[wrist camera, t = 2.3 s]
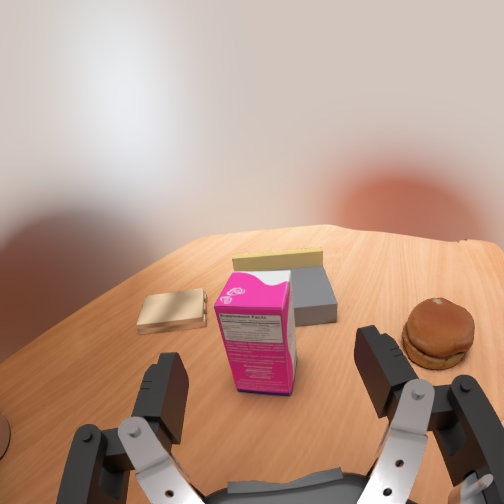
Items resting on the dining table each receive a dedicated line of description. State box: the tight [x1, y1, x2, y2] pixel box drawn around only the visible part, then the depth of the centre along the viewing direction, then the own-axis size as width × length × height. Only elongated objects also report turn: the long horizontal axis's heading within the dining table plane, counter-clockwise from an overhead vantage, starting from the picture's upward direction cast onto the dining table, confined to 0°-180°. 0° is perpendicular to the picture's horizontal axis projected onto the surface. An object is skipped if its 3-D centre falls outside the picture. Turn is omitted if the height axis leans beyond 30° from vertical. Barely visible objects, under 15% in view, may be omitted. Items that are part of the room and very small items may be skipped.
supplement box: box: [214, 270, 297, 396], centre depth 25 cm, size 6×6×12 cm
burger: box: [402, 298, 475, 369], centre depth 26 cm, size 10×9×5 cm
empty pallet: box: [137, 288, 207, 334], centre depth 39 cm, size 10×8×2 cm
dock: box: [232, 247, 337, 326], centre depth 39 cm, size 14×12×6 cm
